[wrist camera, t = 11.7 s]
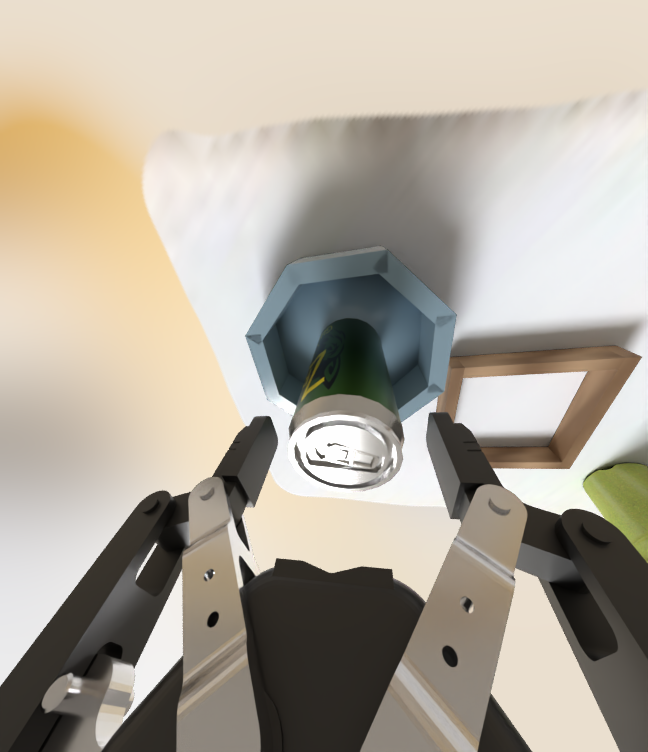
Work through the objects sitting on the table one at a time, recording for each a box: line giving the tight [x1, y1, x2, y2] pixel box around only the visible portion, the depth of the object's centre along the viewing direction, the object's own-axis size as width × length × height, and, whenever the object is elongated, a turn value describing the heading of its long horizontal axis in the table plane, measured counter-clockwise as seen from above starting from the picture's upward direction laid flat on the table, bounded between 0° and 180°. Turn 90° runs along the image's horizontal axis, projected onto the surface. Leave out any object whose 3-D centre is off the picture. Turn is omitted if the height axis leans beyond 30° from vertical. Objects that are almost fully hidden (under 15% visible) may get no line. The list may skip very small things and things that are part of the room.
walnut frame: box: [436, 346, 642, 469], centre depth 22 cm, size 13×13×2 cm
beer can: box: [288, 318, 404, 492], centre depth 15 cm, size 5×5×12 cm
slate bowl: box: [245, 246, 457, 422], centre depth 19 cm, size 14×14×4 cm
